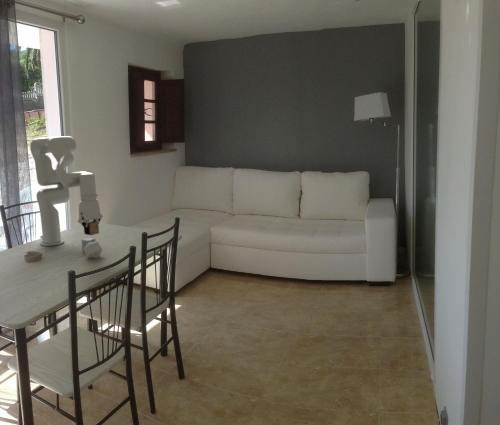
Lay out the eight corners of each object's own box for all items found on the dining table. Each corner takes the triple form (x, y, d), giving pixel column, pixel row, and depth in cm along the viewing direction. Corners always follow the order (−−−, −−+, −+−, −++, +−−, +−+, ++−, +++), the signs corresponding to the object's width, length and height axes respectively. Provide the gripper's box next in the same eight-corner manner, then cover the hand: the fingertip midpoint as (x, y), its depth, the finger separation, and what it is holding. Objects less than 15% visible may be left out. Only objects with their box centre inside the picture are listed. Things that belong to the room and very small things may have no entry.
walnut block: (84, 234, 243) (83, 222, 242) (92, 231, 247) (91, 220, 246) (91, 235, 240) (90, 223, 239) (99, 233, 245) (98, 221, 243)
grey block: (82, 250, 258) (81, 240, 257) (88, 248, 263) (87, 237, 262) (90, 251, 257) (89, 240, 256) (96, 248, 262) (95, 238, 260)
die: (92, 262, 241) (102, 245, 242) (77, 253, 241) (88, 236, 243) (97, 262, 249) (107, 246, 250) (83, 254, 249) (93, 238, 251)
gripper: (97, 194, 249) (100, 228, 253) (69, 199, 235) (72, 235, 239) (107, 195, 245) (109, 230, 249) (79, 201, 231) (82, 237, 235)
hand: (91, 232), depth 244 cm, fingers closed on walnut block, 5 cm apart
